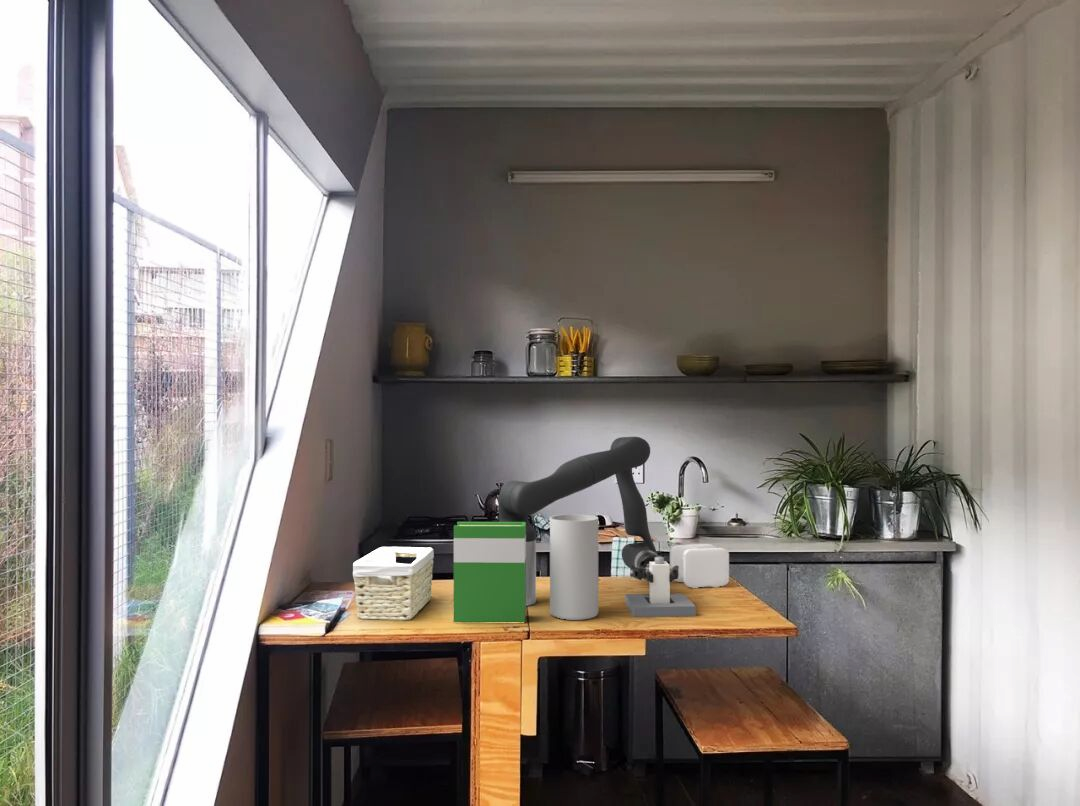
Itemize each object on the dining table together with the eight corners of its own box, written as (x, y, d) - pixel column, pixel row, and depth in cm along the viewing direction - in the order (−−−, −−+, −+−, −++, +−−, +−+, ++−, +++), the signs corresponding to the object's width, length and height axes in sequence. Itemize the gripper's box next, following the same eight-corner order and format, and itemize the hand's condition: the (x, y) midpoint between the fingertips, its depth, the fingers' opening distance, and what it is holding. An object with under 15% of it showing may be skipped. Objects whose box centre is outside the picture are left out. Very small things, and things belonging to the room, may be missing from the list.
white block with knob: (652, 605, 200) (652, 559, 200) (649, 600, 204) (649, 556, 204) (669, 604, 200) (669, 559, 200) (666, 600, 204) (665, 555, 204)
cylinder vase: (544, 619, 192) (544, 520, 193) (556, 607, 204) (556, 513, 205) (593, 622, 189) (592, 521, 189) (602, 610, 201) (602, 515, 202)
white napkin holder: (682, 589, 225) (682, 550, 225) (669, 582, 235) (669, 544, 235) (729, 587, 228) (729, 548, 228) (714, 579, 238) (714, 542, 238)
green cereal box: (453, 622, 189) (453, 526, 189) (457, 615, 196) (457, 521, 197) (524, 623, 189) (524, 526, 189) (525, 615, 196) (525, 522, 196)
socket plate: (633, 616, 194) (633, 607, 195) (625, 603, 208) (625, 594, 208) (695, 616, 195) (695, 606, 195) (683, 602, 209) (683, 593, 209)
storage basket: (412, 623, 189) (412, 563, 189) (349, 621, 191) (349, 562, 191) (435, 599, 213) (435, 546, 213) (379, 598, 215) (379, 545, 215)
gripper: (624, 552, 216) (634, 564, 199) (674, 551, 217) (688, 563, 200) (624, 578, 216) (634, 593, 199) (674, 578, 217) (688, 592, 200)
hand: (661, 578), depth 199 cm, fingers closed on white block with knob, 4 cm apart
